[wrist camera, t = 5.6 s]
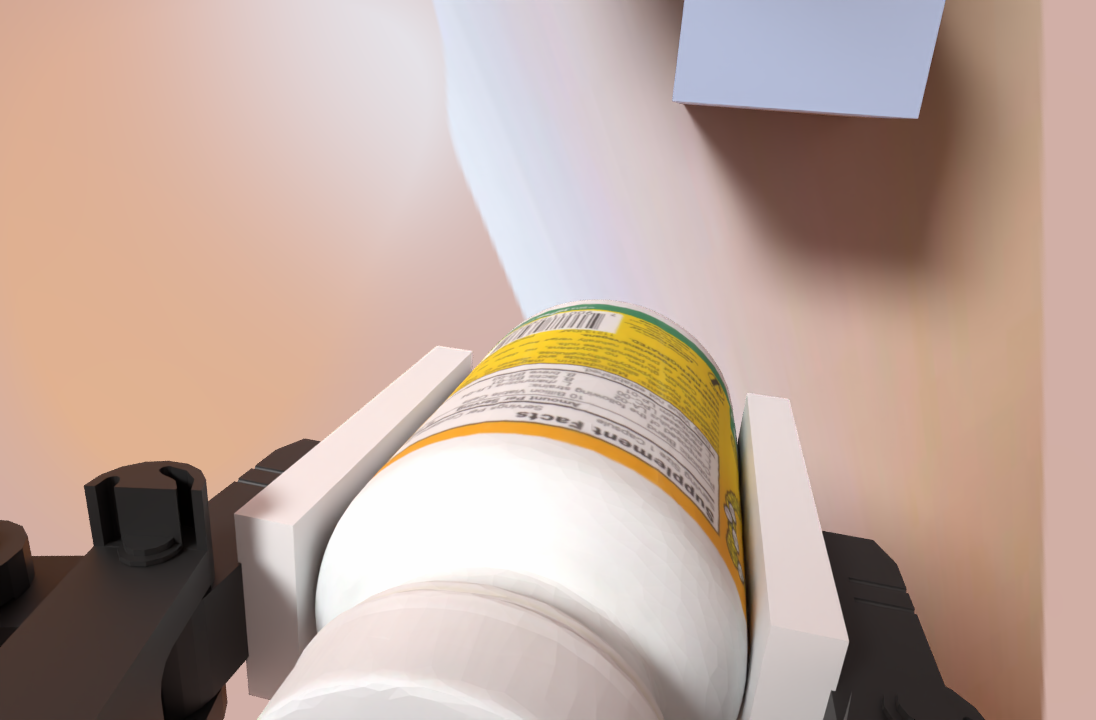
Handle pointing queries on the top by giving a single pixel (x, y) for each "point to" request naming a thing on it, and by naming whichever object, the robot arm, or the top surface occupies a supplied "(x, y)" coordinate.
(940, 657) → the top surface
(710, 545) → the supplement bottle
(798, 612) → the robot arm
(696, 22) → the slate block
